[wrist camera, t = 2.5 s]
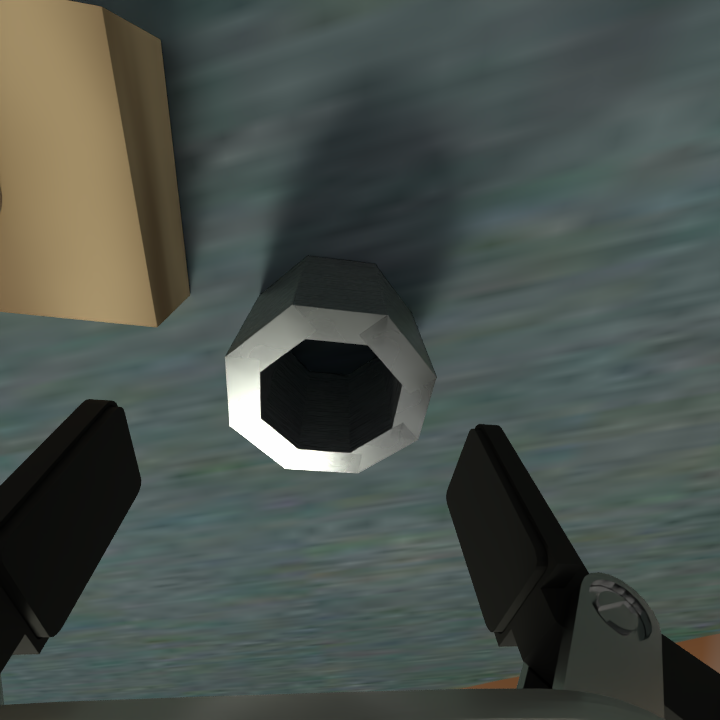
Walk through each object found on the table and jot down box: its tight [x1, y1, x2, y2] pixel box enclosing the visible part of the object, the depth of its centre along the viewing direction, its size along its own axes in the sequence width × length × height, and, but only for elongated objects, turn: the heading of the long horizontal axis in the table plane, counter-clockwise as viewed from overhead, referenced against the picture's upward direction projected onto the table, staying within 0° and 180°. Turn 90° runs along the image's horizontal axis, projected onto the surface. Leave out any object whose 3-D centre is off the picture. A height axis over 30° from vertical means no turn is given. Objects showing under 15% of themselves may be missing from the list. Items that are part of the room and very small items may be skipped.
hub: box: [225, 255, 437, 473], centre depth 14 cm, size 6×6×5 cm
